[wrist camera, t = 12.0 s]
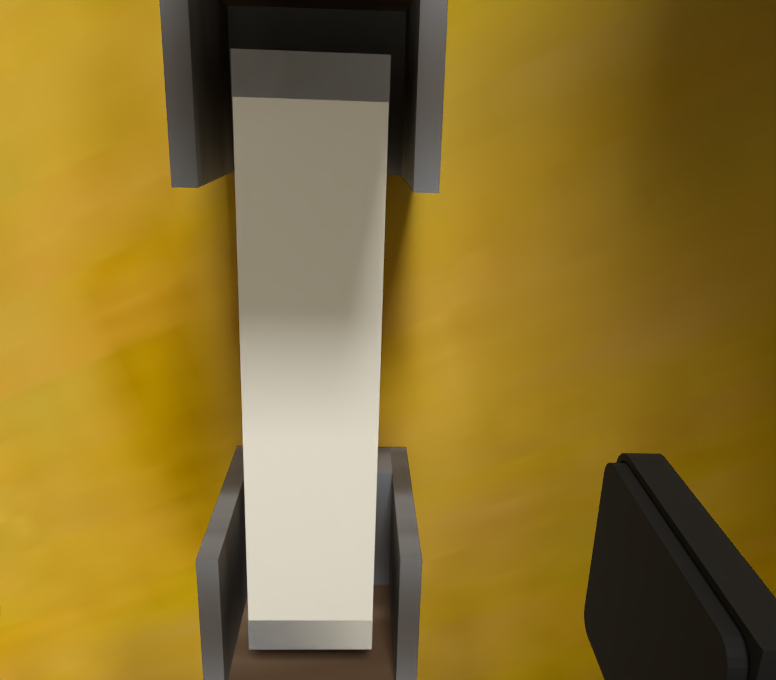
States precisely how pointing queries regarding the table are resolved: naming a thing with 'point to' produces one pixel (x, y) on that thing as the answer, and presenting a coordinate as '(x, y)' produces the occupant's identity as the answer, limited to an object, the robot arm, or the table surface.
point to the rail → (310, 337)
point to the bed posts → (216, 158)
